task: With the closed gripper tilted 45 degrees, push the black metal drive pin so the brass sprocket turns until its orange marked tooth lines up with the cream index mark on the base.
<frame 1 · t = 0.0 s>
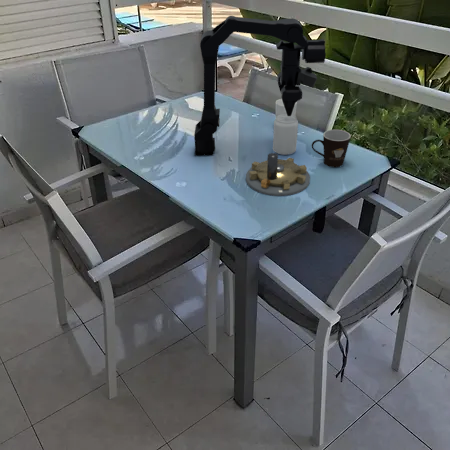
hand: (287, 110, 158), 15 cm above the table, tool pointing down, fingers open, 9 cm apart
sprocket base: (277, 179, 151), on the table
coffee mug: (328, 162, 160), on the table
sprocket: (278, 161, 147), point 6 cm above the table, hinge at 0.0°
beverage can: (284, 151, 167), on the table
white translucent cylinder: (284, 127, 183), on the table
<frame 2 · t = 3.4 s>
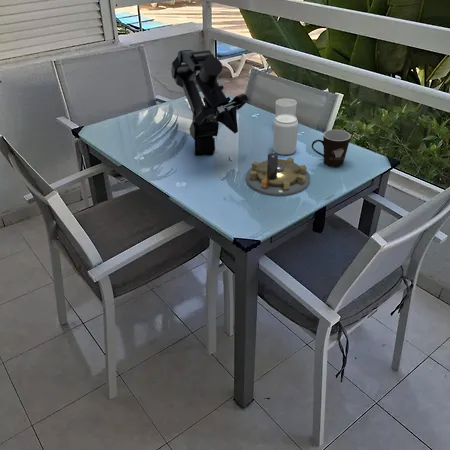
hand: (236, 132, 148), 14 cm above the table, tool tilted 45°, fingers closed
nothing on the table moved.
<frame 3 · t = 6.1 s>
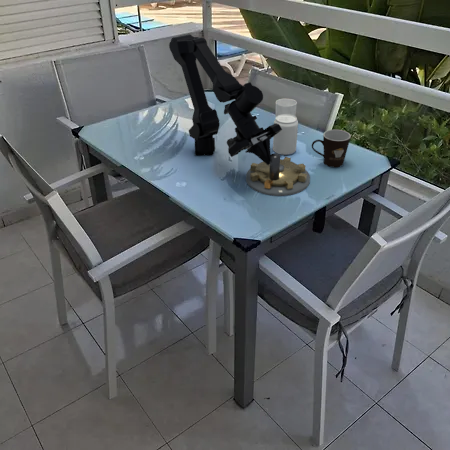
hand: (269, 164, 143), 8 cm above the table, tool tilted 45°, fingers closed, pressing on sprocket
sprocket: (278, 161, 147), point 6 cm above the table, hinge at 7.4°, touching gripper
everything else where it was.
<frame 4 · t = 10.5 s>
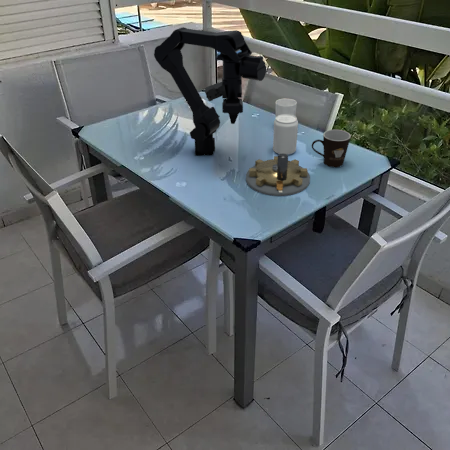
hand: (232, 123, 155), 13 cm above the table, tool pointing down, fingers closed
sprocket: (278, 161, 147), point 6 cm above the table, hinge at 31.4°
everything else where it was.
at the end: sprocket at +31° (first picture: +0°) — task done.
